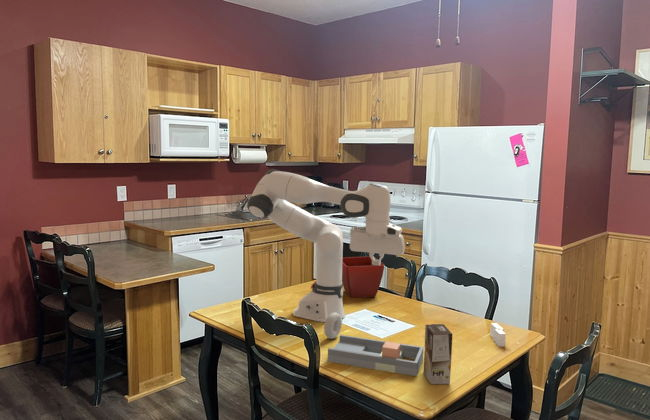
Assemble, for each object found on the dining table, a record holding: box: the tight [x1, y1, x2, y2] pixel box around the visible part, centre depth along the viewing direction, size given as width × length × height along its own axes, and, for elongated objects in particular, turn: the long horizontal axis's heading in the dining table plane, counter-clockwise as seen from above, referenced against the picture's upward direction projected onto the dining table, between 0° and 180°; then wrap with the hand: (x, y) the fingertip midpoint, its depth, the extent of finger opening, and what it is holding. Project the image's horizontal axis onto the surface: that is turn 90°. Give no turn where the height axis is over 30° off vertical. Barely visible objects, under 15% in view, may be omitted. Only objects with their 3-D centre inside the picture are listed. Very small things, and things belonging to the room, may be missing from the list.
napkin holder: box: [489, 322, 507, 347], centre depth 189 cm, size 15×11×6 cm
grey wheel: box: [323, 312, 343, 340], centre depth 188 cm, size 10×4×10 cm, turn 148°
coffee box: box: [423, 323, 453, 385], centre depth 157 cm, size 9×6×16 cm
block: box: [382, 341, 401, 359], centre depth 164 cm, size 5×5×5 cm
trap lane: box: [327, 334, 425, 377], centre depth 169 cm, size 30×14×4 cm, turn 71°
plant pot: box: [342, 256, 385, 299], centre depth 246 cm, size 19×19×17 cm
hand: (376, 264), depth 184 cm, fingers closed
